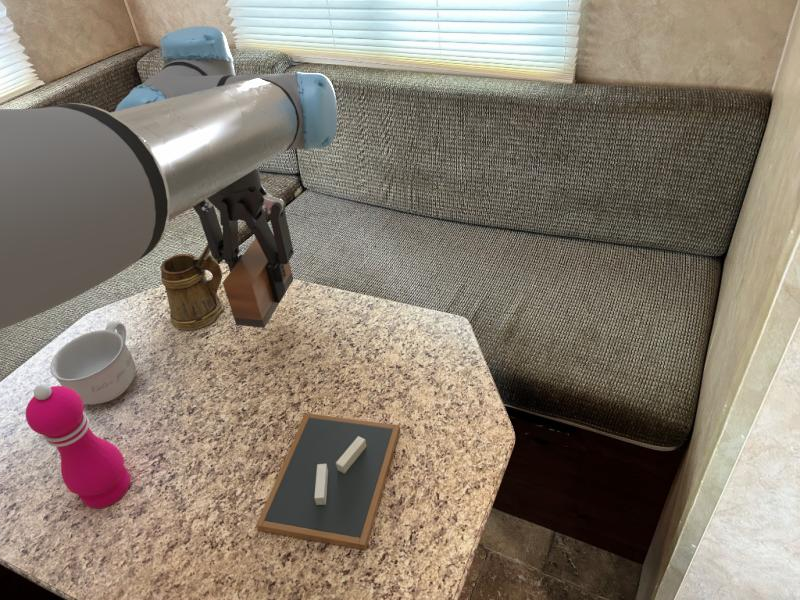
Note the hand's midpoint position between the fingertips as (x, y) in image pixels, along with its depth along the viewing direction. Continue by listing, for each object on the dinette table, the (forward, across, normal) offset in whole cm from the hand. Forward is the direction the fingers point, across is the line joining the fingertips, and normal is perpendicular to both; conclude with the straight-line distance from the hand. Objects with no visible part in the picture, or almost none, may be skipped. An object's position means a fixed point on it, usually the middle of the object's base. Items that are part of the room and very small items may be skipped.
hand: (264, 295), depth 94 cm
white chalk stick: (+10, -19, +20) cm, 29 cm away
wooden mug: (+11, +16, -7) cm, 21 cm away
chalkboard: (+11, -17, +22) cm, 30 cm away
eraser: (+1, 0, 0) cm, 1 cm away
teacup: (+11, +24, +11) cm, 29 cm away
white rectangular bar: (+10, -16, +25) cm, 31 cm away
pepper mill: (+12, +13, +29) cm, 34 cm away
